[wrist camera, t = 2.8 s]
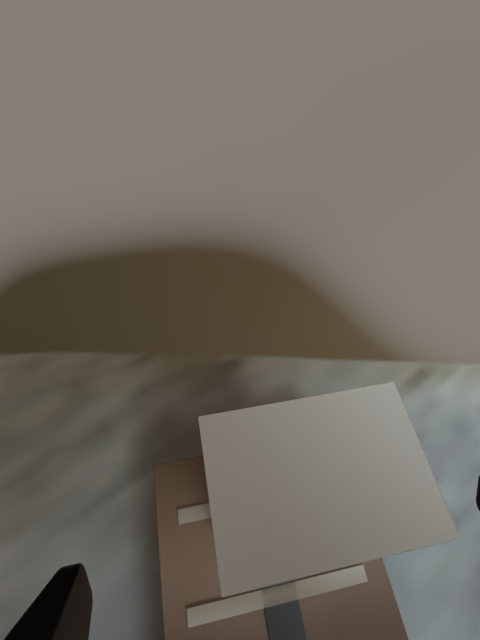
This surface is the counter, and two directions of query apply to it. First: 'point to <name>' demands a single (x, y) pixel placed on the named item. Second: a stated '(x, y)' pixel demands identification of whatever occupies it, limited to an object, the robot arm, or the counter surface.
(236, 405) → the counter surface
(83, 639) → the robot arm
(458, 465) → the counter surface
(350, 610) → the console
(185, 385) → the counter surface
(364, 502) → the fader
